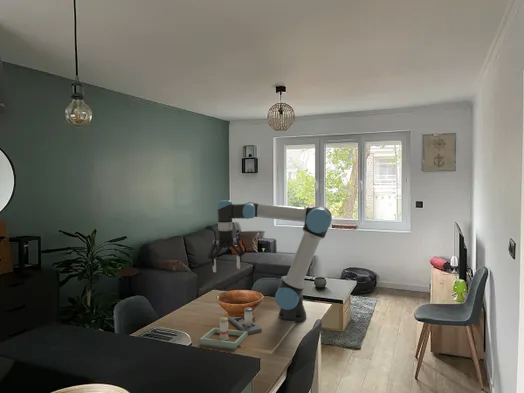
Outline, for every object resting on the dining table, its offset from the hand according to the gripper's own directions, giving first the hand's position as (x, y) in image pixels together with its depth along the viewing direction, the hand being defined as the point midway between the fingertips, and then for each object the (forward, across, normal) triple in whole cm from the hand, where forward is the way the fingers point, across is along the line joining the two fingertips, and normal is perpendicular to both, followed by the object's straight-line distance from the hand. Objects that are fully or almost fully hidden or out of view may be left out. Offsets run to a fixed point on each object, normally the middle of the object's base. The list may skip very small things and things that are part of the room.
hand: (226, 270), depth 205 cm
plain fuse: (+28, -5, +14) cm, 31 cm away
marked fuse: (+28, +10, +20) cm, 36 cm away
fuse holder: (+29, -5, +9) cm, 30 cm away
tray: (+29, +10, +20) cm, 36 cm away
